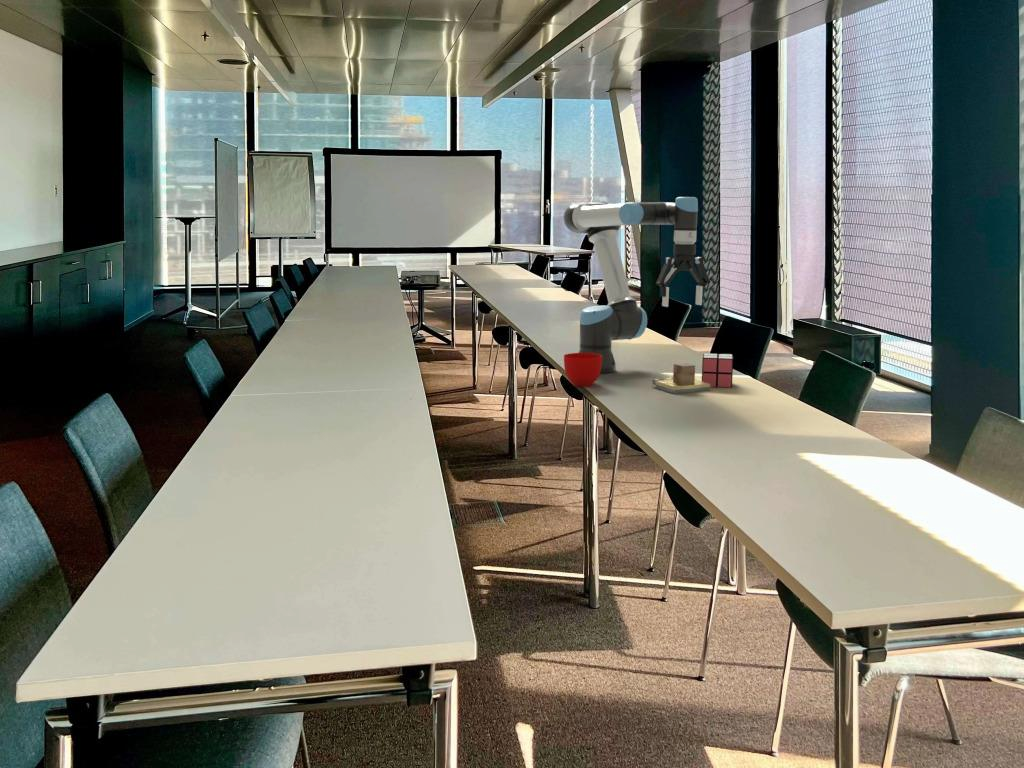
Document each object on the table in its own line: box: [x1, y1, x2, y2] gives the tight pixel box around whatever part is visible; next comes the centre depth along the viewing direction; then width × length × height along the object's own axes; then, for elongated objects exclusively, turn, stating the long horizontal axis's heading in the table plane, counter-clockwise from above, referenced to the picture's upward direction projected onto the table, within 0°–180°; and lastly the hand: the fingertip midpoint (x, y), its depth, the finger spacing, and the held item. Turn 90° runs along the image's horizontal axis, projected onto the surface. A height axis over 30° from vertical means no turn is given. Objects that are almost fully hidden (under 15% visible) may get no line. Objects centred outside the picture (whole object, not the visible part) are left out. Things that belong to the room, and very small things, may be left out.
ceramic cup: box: [563, 352, 602, 388], centre depth 326 cm, size 13×17×10 cm
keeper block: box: [672, 362, 696, 384], centre depth 316 cm, size 5×5×6 cm
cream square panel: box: [656, 377, 711, 390], centre depth 318 cm, size 14×13×2 cm
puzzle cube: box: [701, 353, 734, 389], centre depth 325 cm, size 10×10×10 cm
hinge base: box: [651, 378, 711, 395], centre depth 319 cm, size 14×13×3 cm
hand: (682, 305), depth 330 cm, fingers open, 13 cm apart
